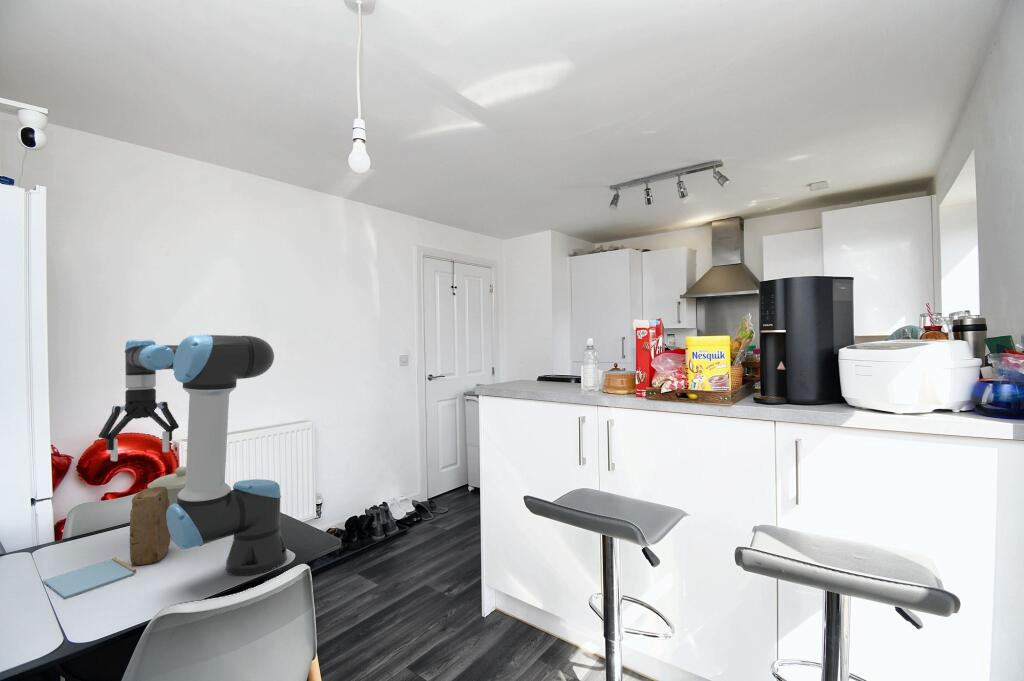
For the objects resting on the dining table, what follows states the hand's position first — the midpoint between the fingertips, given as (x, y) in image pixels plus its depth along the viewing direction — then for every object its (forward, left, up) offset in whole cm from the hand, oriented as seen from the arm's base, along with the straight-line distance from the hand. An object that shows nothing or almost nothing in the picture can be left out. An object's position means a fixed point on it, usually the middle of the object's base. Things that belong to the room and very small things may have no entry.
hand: (140, 456), depth 146 cm
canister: (+2, -12, -28) cm, 30 cm away
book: (-15, +17, -27) cm, 35 cm away
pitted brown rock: (-15, +3, -28) cm, 32 cm away
